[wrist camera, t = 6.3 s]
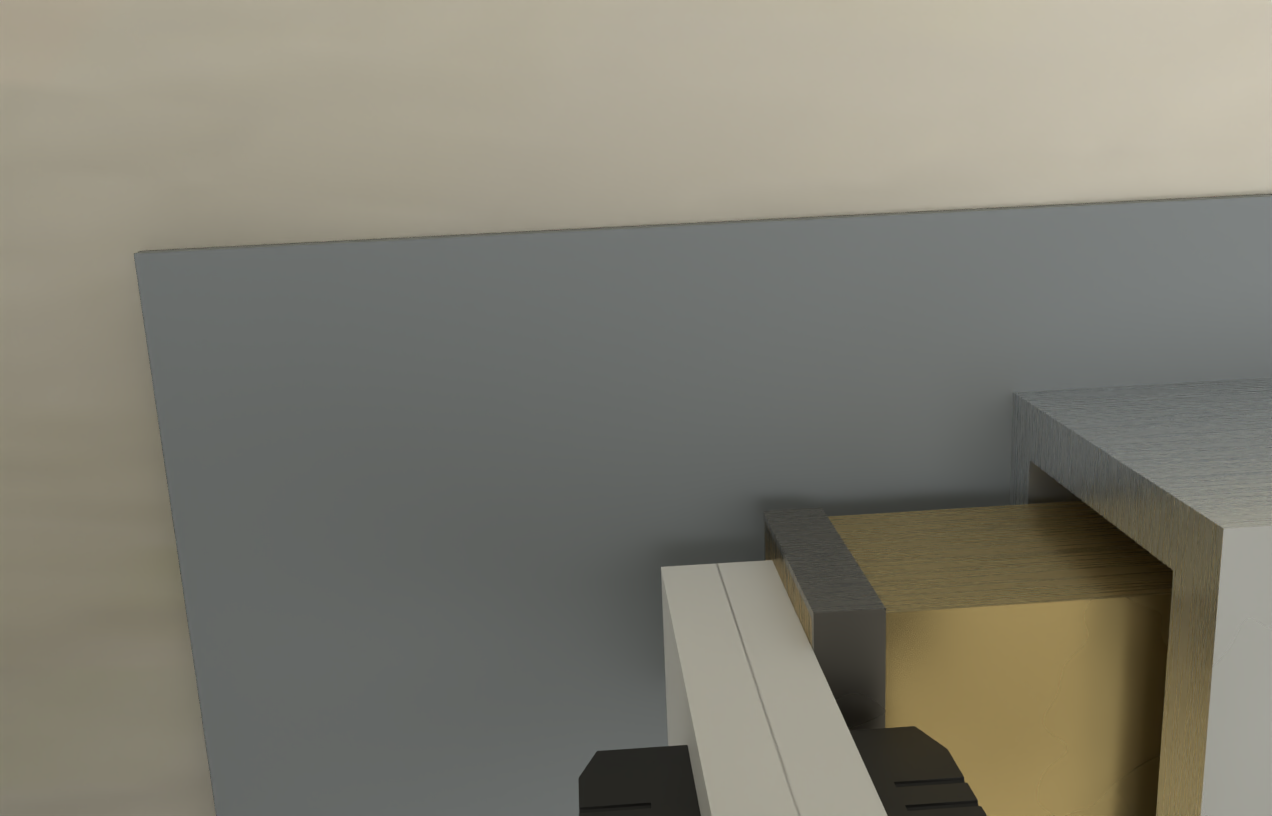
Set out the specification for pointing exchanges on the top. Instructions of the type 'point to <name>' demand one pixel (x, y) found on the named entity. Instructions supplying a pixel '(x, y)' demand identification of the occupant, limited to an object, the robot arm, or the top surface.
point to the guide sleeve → (1181, 556)
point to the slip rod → (993, 643)
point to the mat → (600, 453)
